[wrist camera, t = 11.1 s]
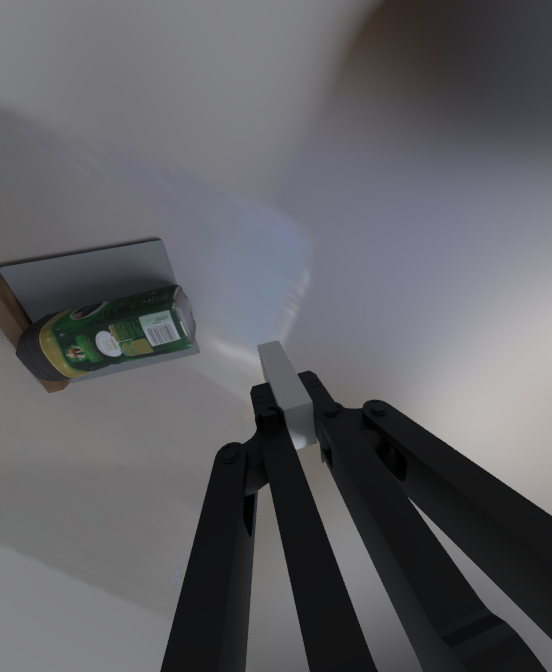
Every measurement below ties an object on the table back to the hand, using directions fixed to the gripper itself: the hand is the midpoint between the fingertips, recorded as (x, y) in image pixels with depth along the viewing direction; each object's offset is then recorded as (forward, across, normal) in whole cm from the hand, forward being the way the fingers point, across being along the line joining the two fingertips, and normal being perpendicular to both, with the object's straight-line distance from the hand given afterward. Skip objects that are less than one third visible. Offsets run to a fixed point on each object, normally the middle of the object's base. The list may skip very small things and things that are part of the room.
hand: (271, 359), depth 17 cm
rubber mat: (+24, -19, -1) cm, 31 cm away
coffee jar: (+18, -8, -1) cm, 20 cm away
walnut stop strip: (+24, -31, -1) cm, 39 cm away
